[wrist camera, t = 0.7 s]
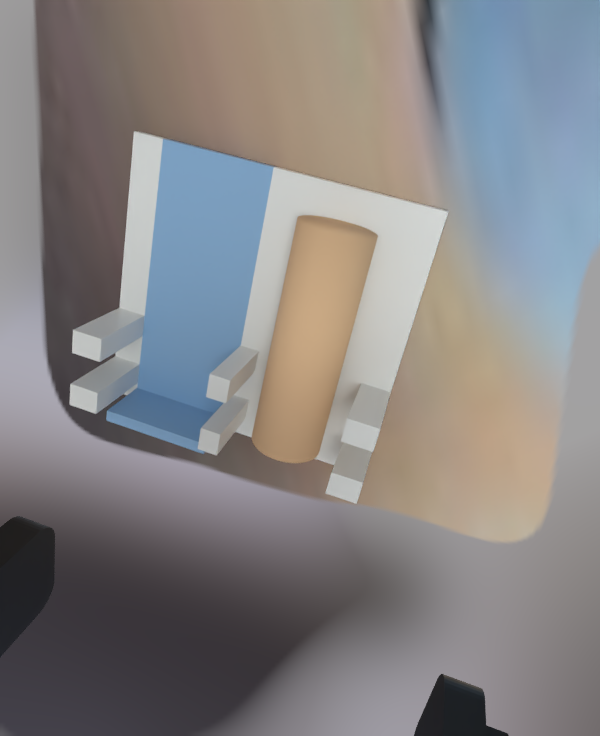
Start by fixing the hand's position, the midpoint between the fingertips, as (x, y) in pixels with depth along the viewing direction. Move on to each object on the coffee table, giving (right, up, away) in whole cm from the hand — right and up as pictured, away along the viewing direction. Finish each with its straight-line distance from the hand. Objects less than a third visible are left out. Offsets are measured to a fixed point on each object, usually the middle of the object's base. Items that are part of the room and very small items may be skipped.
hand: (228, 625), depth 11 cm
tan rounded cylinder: (+2, +7, +17) cm, 18 cm away
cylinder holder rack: (-1, +8, +18) cm, 19 cm away
